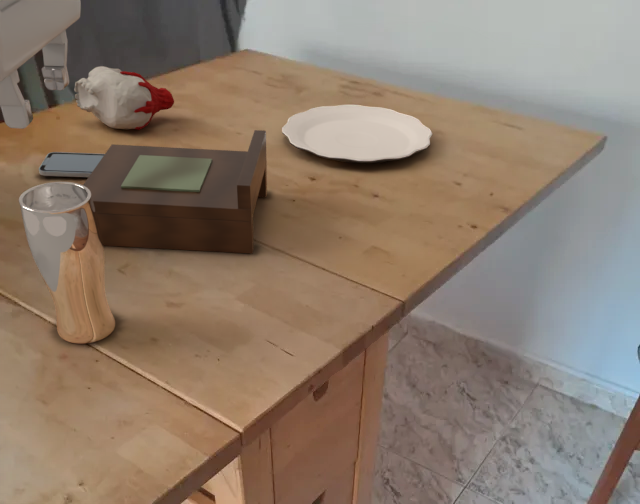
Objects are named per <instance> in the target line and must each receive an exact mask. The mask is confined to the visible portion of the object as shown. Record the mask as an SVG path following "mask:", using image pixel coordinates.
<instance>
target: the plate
mask: <svg viewBox="0 0 640 504" xmlns="http://www.w3.org/2000/svg"><path fill="white" fill-rule="evenodd" d="M281 133H282V135H283V136H285V137H286V138H287V139H288V141H289V144H290V145H292V146H293V147H294V148H296V149H299V150H301V151H305V152H307V153H311V154H313V155H315V156H317V157H319V158H324V159H327V160H331V161H336V162H337V161H338V162H344V163H352V164H377V163H384V162H390V161H400V160H403V159H408V158H409V157H411V156H413V155H414V154H416V153H419V152H422V151H425V150H426V149H428V148H429V147H430V146H431V138H432V136H433V132H432V130H431V129H430V127H428V126H426V125H424V124H423V123H422V121H421V120H420V119H419V118H417V117H415V116H414V115H413V116H412V115H410V114H406V113H402V112H399V111H396V110H394V109H391V108H386V107H381V106H367V105H360V104H339V105H324V106H322V105H321V106H317V107H311V108H310V109H307V110H305V111H301V112H297V113H294V114H293V115H291V116H290V117H288V118H287V122H286V123H285V124H284V125H283V126H282V127H281Z"/></svg>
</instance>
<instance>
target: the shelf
mask: <svg viewBox="0 0 640 504" xmlns="http://www.w3.org/2000/svg"><path fill="white" fill-rule="evenodd" d="M104 154H105V155H104V156H103V158H102V159H101V160H100V162H99V163H98V165H97V166H96V167H95V169H94V170H93V172H92V173H91V175H90V176H89V177H87V179H86V180H85V181H84V183H83V184H82V185H83V186H85V187H87V188H88V189H89V190H90V192H91V196H92V200H93V203H94V206H95V210H96V213H97V217H98V220H99V224H100V229H101V233H102V239H103V246H104V247H105V246H107V247H123V248H124V247H126V248H143V249H162V250H181V251H195V252H196V251H198V252H213V253H214V252H215V253H217V252H218V253H232V254H233V253H236V254H253V253H254V249H255V238H254V213H255V208H256V206H257V201H258V198H267V195H268V169H267V166H268V164H267V160H268V159H267V131H266V130H260V129H259V130H258V129H255V130H254V131H253V133H252V136H251V140H250V143H249V146H248V149H247V151H245V150H225V149H207V148H191V147H190V148H187V147H171V146H169V147H168V146H149V145H131V144H113V143H112V144H111V145H110V146H109V148H108V149H107V150H106V152H105V153H104Z"/></svg>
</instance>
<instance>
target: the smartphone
mask: <svg viewBox="0 0 640 504" xmlns="http://www.w3.org/2000/svg"><path fill="white" fill-rule="evenodd" d="M104 155H105V153H91V152H69V151H67V152H66V151H52V152H48V153H47V154H46V156H45V157H44V159H43V160H42V162H41V164H40V166H39V167H38V173H39V175H41V176H44V177H45V176H46V177H71V178H88V177H89V176H90V175H91V173H92V172H93V170H94V169H95V167H96V166H97V165H98V163H99V162H100V160H101V159H102V158H103V156H104Z"/></svg>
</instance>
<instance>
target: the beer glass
mask: <svg viewBox="0 0 640 504" xmlns="http://www.w3.org/2000/svg"><path fill="white" fill-rule="evenodd" d="M18 203H19V207H20V212H21V218H22V222H23V227H24V232H25V236H26V240H27V244H28V247H29V251H30V254H31V257H32V260H33V262H34V264H35V266H36V268H37V270H38V272H39V274H40V276H41V278H42V281H43V283H44V285H45V286H46V288H47V290H48V292H49V294H50V296H51V299H52V302H53V305H54V309H55V318H56V330H57V334H58V336H59V337H60V338H61V339H62V340H64V341H66V342H68V343H72V344H78V345H79V344H80V345H83V344H85V345H86V344H91V343H96V342H99V341H101V340H104V339H106V338H107V337H108V336H110V335H111V334H112V333H113V332H114V330H115V328H116V320H115V317H114V315H113V312H112V310H111V308H110V306H109V303H108V299H107V295H106V288H105V286H106V284H105V282H106V281H105V249H104V248H105V246H104V245H103V239H102V233H101V229H100V224H99V220H98V217H97V213H96V210H95V206H94V203H93V200H92V196H91V192H90V190H89V189H88V188H87V187H85V186H83V184H80V183H78V182H77V183H76V182H72V181H53V182H45V183H41V184H38V185H34V186H31V187H30V188H27V189H26V190H25V191H23V192H22V193H21V194H20V196H19V197H18Z"/></svg>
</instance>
